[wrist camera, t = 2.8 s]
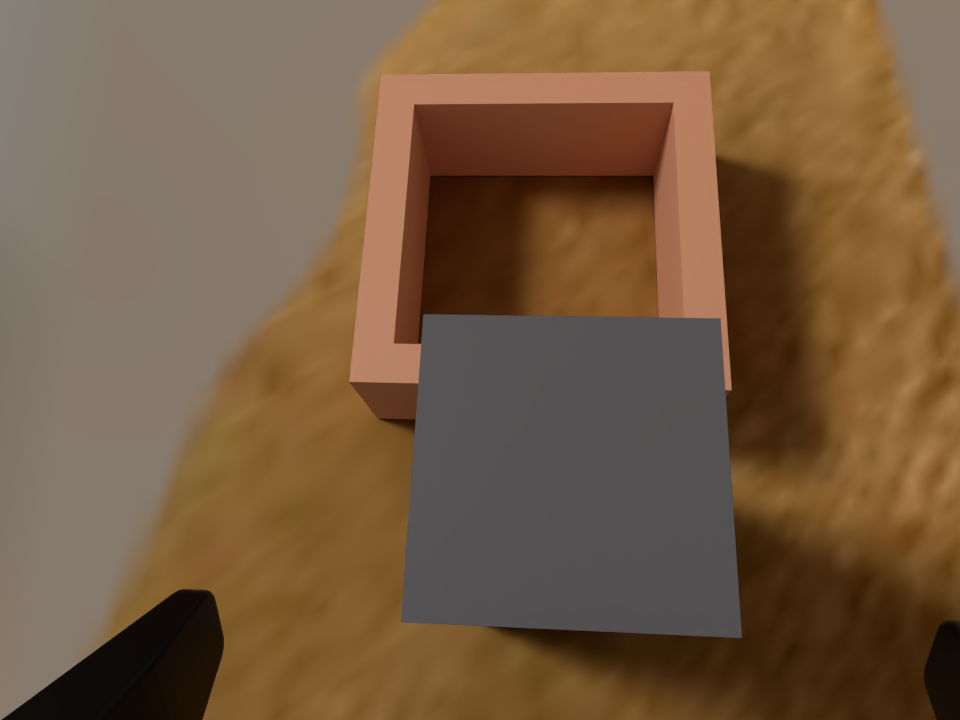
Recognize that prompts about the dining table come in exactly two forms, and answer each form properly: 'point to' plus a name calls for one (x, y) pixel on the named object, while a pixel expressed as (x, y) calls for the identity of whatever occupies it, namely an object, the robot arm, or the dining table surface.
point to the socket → (530, 152)
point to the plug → (572, 476)
